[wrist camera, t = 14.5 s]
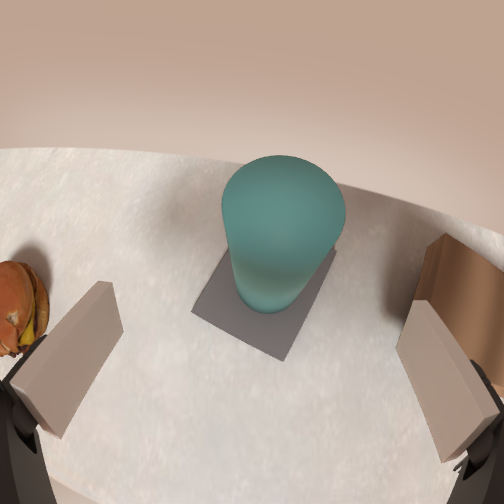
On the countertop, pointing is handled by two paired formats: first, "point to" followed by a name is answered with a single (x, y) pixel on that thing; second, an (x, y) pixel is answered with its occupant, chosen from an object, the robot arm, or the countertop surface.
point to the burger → (21, 308)
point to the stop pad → (254, 323)
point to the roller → (279, 228)
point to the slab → (467, 302)
